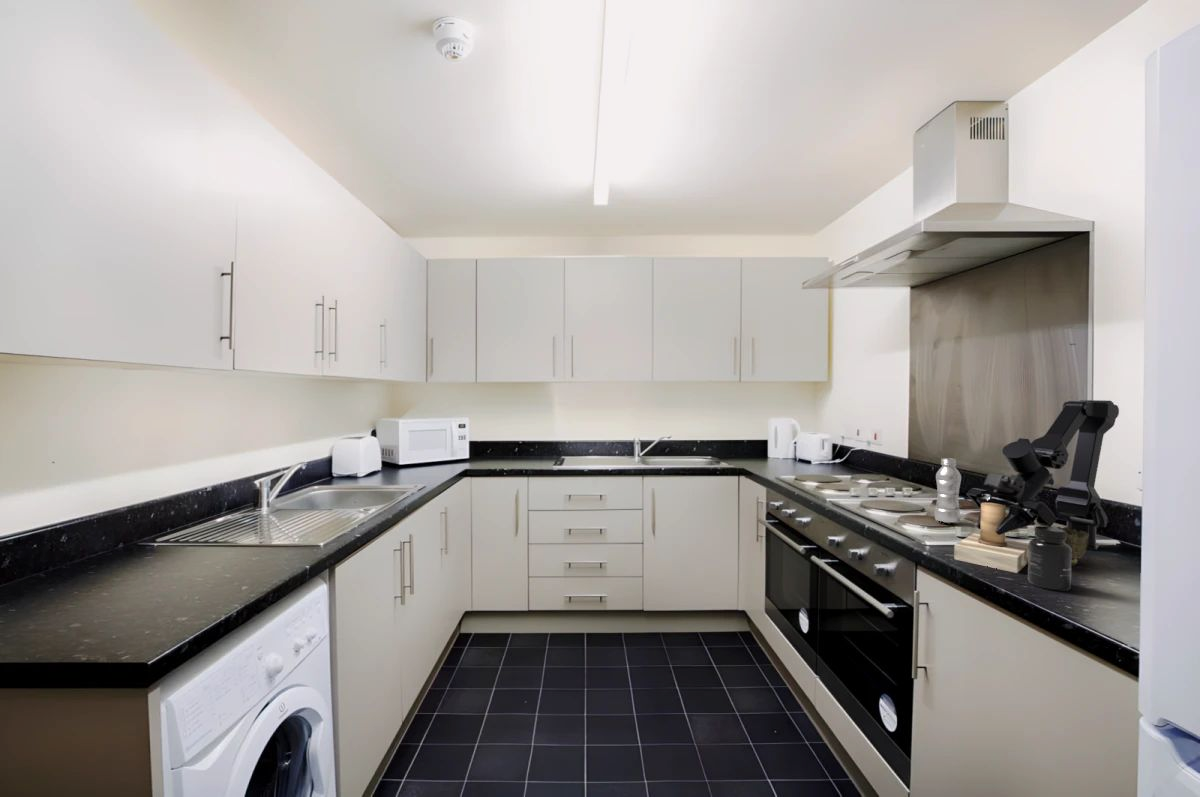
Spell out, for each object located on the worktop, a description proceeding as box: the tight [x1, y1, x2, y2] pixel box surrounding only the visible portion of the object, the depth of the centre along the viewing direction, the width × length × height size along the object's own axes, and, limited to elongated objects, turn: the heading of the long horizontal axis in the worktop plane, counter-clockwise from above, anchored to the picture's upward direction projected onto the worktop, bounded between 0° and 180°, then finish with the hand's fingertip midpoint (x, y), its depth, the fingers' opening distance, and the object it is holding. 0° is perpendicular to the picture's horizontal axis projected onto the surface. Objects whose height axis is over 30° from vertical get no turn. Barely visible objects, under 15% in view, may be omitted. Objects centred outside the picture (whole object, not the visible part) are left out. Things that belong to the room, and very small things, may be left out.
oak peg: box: [978, 503, 1007, 547], centre depth 125 cm, size 6×6×13 cm
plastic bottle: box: [934, 457, 962, 523], centre depth 157 cm, size 6×7×20 cm
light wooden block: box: [953, 532, 1029, 574], centre depth 124 cm, size 16×12×4 cm
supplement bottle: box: [1027, 525, 1072, 592], centre depth 107 cm, size 7×7×12 cm
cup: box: [1056, 526, 1089, 566], centre depth 121 cm, size 8×7×8 cm
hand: (987, 530), depth 125 cm, fingers closed on oak peg, 5 cm apart
